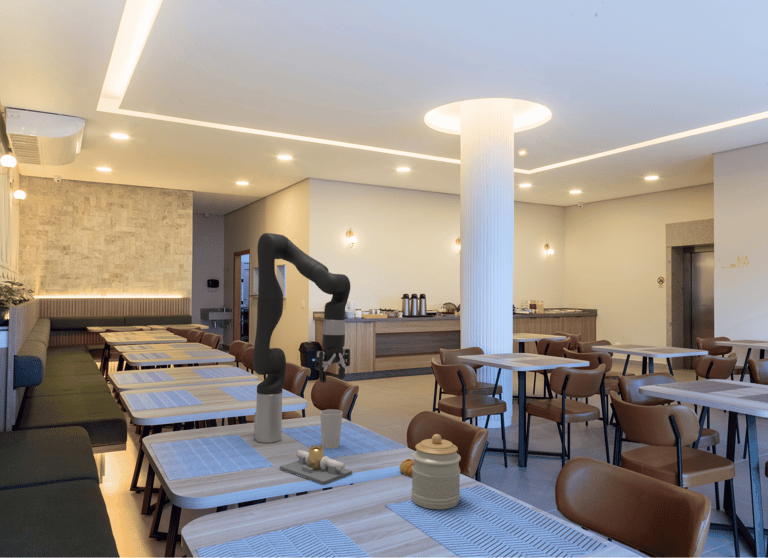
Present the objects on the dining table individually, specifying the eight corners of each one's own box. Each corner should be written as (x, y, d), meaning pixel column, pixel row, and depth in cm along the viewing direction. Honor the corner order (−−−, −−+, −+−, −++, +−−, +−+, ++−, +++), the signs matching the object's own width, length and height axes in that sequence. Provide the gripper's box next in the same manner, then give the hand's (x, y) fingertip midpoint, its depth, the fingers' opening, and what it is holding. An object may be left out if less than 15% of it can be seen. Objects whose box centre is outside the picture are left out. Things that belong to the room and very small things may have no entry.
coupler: (305, 468, 163) (306, 446, 163) (316, 464, 167) (316, 443, 167) (315, 471, 160) (315, 449, 161) (326, 468, 164) (326, 446, 164)
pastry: (432, 477, 161) (432, 465, 161) (414, 482, 158) (414, 469, 158) (414, 468, 169) (414, 456, 169) (396, 472, 166) (396, 460, 166)
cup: (343, 443, 194) (344, 410, 194) (339, 450, 186) (340, 415, 186) (321, 442, 195) (322, 409, 195) (316, 448, 187) (317, 414, 187)
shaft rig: (279, 469, 165) (280, 452, 165) (308, 460, 174) (309, 444, 174) (323, 484, 153) (324, 467, 153) (352, 474, 162) (352, 457, 162)
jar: (403, 494, 147) (404, 430, 147) (444, 488, 152) (445, 426, 152) (425, 513, 135) (426, 443, 135) (469, 506, 140) (470, 438, 140)
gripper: (341, 330, 189) (339, 376, 189) (310, 332, 178) (308, 381, 178) (356, 332, 184) (354, 380, 184) (326, 335, 173) (324, 385, 173)
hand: (332, 380), depth 181 cm, fingers open, 8 cm apart
